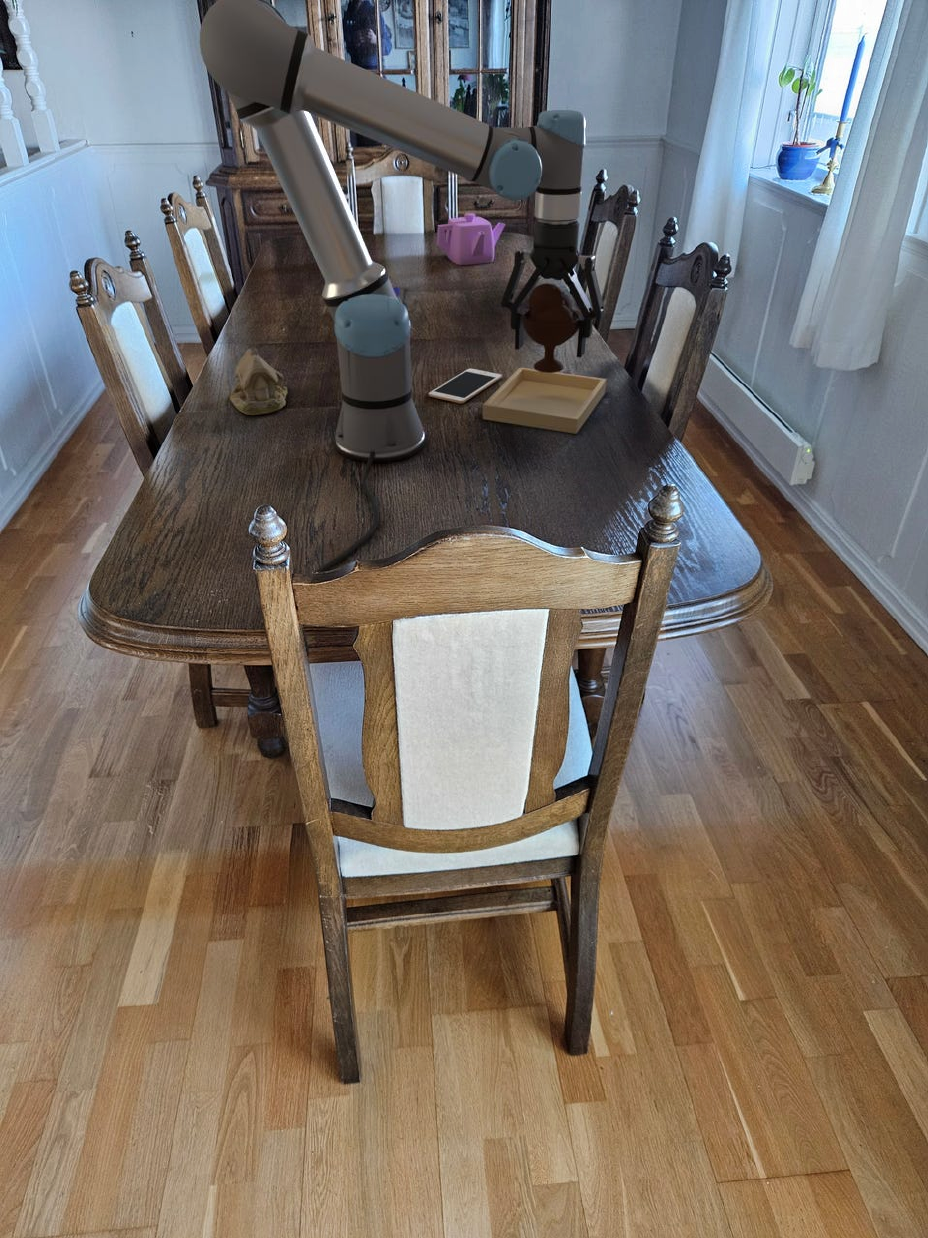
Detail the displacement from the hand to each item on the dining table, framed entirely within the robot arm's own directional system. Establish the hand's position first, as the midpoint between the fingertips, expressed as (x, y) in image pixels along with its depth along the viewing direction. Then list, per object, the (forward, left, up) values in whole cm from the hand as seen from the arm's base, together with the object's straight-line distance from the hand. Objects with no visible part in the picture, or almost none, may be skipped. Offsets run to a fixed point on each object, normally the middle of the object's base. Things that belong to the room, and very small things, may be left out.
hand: (549, 351), depth 150 cm
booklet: (+47, +61, -10) cm, 77 cm away
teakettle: (+100, +55, -11) cm, 114 cm away
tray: (0, 0, -10) cm, 10 cm away
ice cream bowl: (0, 0, -3) cm, 3 cm away
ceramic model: (-18, +52, -11) cm, 56 cm away
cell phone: (+3, +18, -10) cm, 21 cm away
